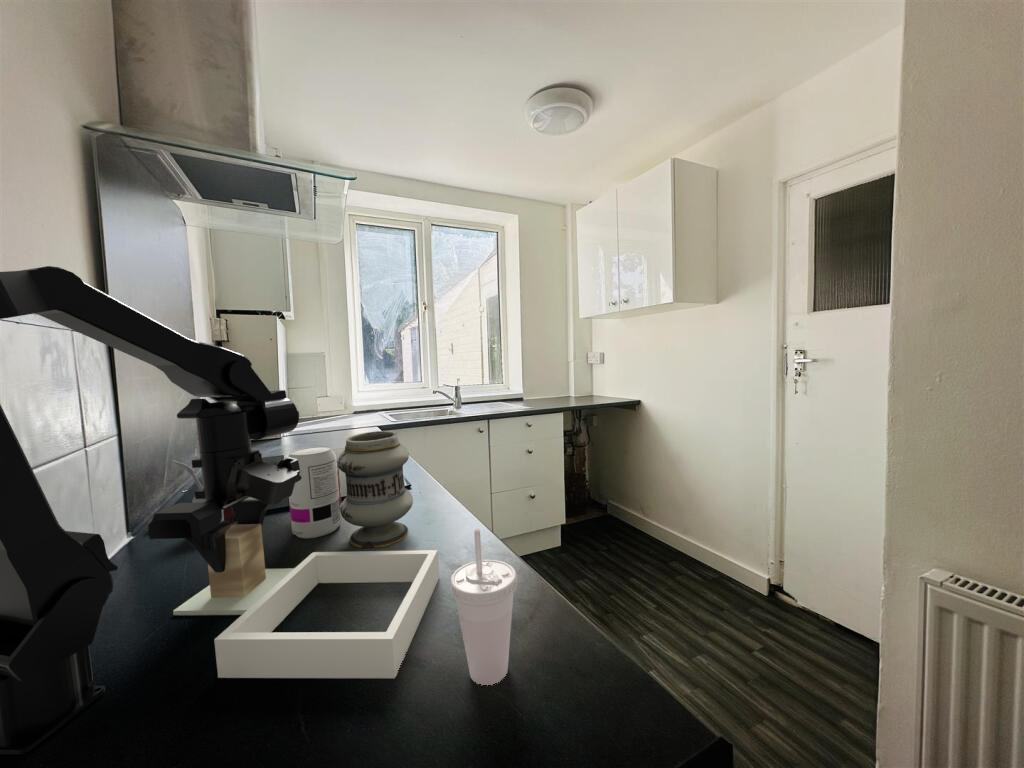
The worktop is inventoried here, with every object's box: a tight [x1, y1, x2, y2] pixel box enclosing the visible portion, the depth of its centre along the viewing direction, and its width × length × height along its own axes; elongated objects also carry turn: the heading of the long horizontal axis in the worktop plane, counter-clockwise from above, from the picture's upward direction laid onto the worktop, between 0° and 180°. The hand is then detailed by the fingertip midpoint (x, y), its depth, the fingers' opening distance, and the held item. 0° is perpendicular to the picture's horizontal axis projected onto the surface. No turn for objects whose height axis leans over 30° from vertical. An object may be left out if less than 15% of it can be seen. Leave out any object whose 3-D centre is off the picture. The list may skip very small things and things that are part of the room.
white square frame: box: [213, 549, 440, 679], centre depth 49 cm, size 18×18×4 cm
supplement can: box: [288, 445, 342, 539], centre depth 76 cm, size 8×8×15 cm
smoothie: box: [450, 528, 518, 687], centre depth 40 cm, size 6×6×14 cm
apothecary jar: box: [337, 430, 414, 549], centre depth 72 cm, size 12×12×18 cm
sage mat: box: [173, 567, 296, 616], centre depth 57 cm, size 10×10×1 cm
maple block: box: [207, 524, 266, 598], centre depth 56 cm, size 4×4×8 cm
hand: (236, 560), depth 56 cm, fingers open, 6 cm apart
